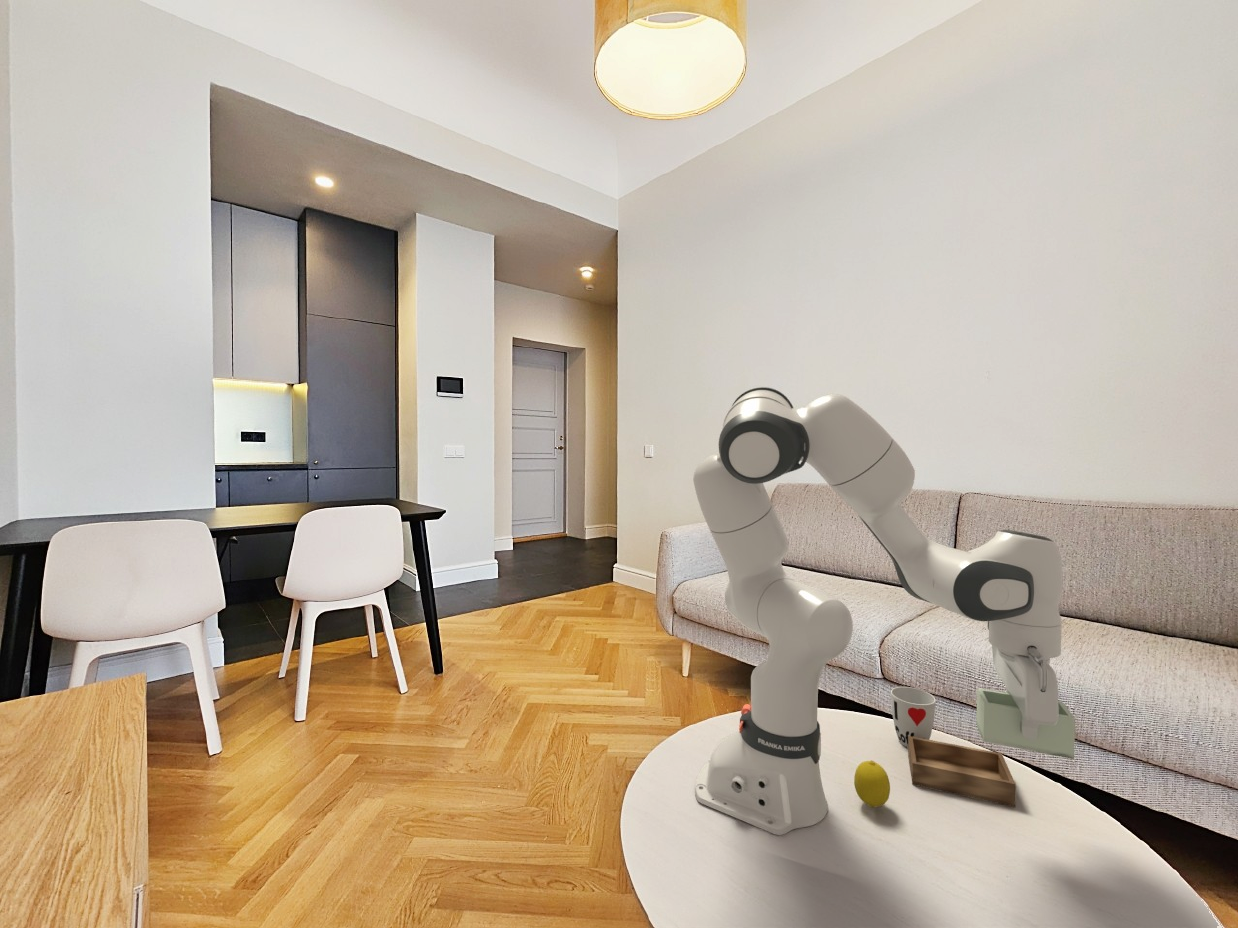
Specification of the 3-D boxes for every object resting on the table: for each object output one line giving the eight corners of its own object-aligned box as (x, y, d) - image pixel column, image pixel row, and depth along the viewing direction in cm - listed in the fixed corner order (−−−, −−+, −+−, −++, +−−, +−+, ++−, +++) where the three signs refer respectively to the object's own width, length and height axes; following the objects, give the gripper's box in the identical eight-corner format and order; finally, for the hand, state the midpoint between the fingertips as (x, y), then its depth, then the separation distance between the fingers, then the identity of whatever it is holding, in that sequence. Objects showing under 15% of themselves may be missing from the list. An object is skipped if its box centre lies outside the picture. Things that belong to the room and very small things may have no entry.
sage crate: (983, 741, 82) (984, 703, 82) (976, 724, 87) (977, 688, 86) (1073, 758, 77) (1075, 718, 77) (1061, 739, 82) (1062, 701, 82)
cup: (884, 742, 111) (884, 695, 110) (899, 728, 116) (899, 682, 116) (927, 758, 105) (927, 708, 104) (940, 743, 110) (941, 695, 110)
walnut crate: (912, 784, 97) (912, 762, 97) (908, 755, 106) (908, 735, 106) (1015, 807, 91) (1015, 784, 90) (1001, 774, 100) (1001, 753, 99)
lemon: (853, 812, 90) (854, 765, 90) (854, 793, 95) (854, 748, 95) (890, 821, 87) (890, 774, 87) (889, 801, 92) (889, 756, 92)
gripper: (1074, 664, 71) (1072, 767, 71) (1029, 620, 89) (1028, 701, 90) (1017, 657, 73) (1014, 755, 74) (985, 615, 92) (983, 694, 92)
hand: (1021, 725), depth 82 cm, fingers closed on sage crate, 5 cm apart
